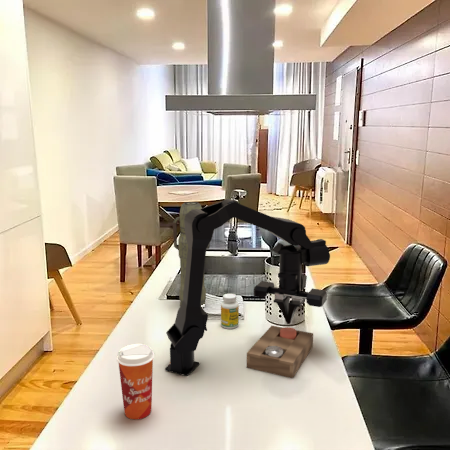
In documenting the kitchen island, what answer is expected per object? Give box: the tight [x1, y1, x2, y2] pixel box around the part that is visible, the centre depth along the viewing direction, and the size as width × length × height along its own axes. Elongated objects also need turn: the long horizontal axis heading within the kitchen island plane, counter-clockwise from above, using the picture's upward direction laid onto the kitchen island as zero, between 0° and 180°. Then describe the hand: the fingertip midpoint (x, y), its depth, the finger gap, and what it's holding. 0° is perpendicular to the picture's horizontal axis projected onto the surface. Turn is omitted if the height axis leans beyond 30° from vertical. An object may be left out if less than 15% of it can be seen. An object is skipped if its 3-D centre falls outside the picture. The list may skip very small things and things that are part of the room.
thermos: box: [172, 201, 211, 307], centre depth 155 cm, size 9×12×35 cm
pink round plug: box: [280, 326, 297, 340], centre depth 128 cm, size 4×4×3 cm
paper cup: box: [116, 343, 156, 420], centre depth 99 cm, size 8×8×14 cm
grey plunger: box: [264, 346, 284, 358], centre depth 118 cm, size 4×4×3 cm
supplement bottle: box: [220, 293, 240, 330], centre depth 142 cm, size 5×5×10 cm
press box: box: [246, 325, 314, 379], centre depth 123 cm, size 18×12×4 cm, turn 154°
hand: (288, 323), depth 127 cm, fingers closed
